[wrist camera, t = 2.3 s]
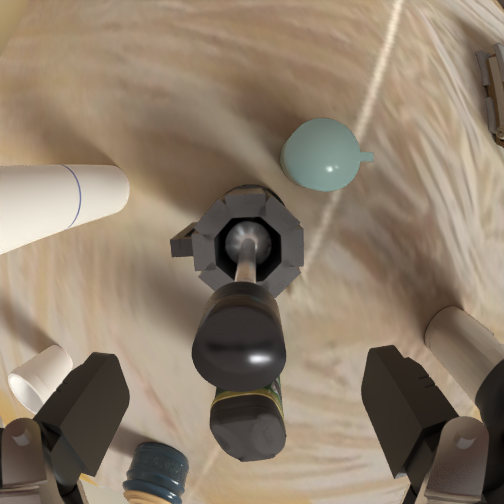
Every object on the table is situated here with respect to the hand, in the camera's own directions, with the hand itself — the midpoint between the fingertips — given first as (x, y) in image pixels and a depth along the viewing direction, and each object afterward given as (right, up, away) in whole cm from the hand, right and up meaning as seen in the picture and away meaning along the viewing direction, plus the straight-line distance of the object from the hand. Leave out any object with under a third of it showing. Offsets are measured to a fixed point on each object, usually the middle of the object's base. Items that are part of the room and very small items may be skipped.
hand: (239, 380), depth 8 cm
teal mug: (+9, +16, +28) cm, 33 cm away
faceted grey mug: (-1, +8, +30) cm, 31 cm away
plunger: (0, +5, +18) cm, 19 cm away
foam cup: (-38, -17, +37) cm, 55 cm away
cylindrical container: (-20, +13, +29) cm, 37 cm away
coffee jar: (0, -11, +35) cm, 37 cm away
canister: (-20, -43, +44) cm, 65 cm away
